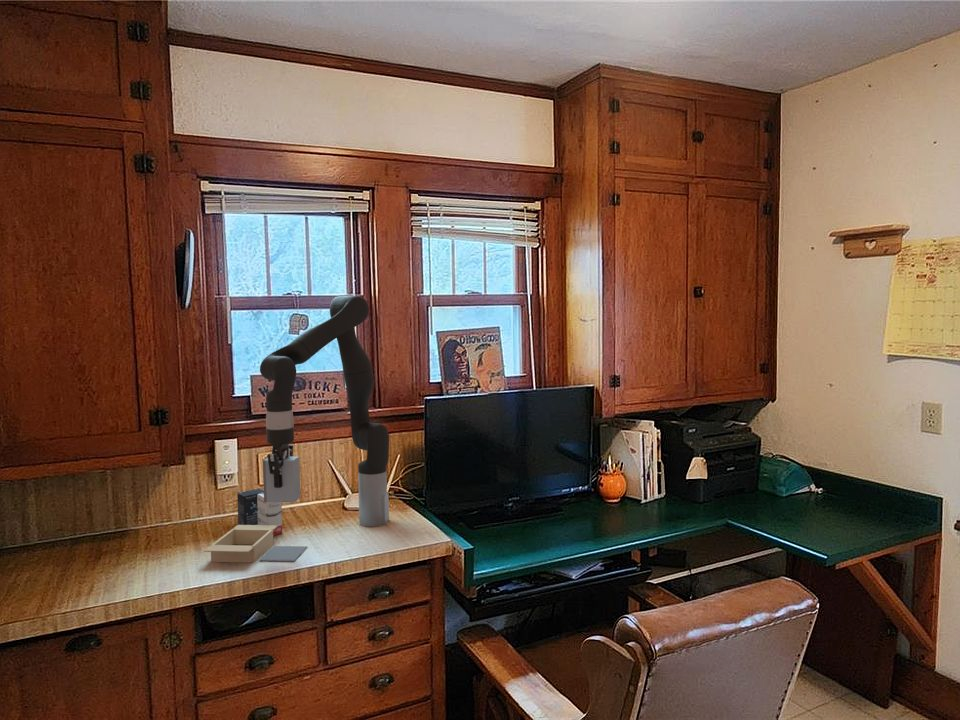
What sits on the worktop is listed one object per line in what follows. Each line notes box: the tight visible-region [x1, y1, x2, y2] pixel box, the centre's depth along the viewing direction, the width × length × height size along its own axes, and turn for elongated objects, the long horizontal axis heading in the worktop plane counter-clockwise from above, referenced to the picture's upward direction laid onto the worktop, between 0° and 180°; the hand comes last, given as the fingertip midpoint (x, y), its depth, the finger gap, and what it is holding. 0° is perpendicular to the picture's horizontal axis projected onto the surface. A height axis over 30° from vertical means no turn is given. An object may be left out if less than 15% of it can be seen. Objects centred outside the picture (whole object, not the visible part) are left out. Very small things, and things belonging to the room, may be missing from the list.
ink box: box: [257, 493, 283, 536], centre depth 209 cm, size 8×5×12 cm, turn 39°
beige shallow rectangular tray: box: [203, 524, 278, 563], centre depth 192 cm, size 13×22×4 cm, turn 176°
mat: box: [259, 545, 308, 563], centre depth 190 cm, size 10×11×1 cm
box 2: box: [262, 456, 301, 503], centre depth 188 cm, size 9×5×12 cm, turn 86°
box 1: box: [236, 488, 264, 525], centre depth 218 cm, size 8×6×11 cm
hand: (282, 484), depth 188 cm, fingers closed on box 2, 5 cm apart
